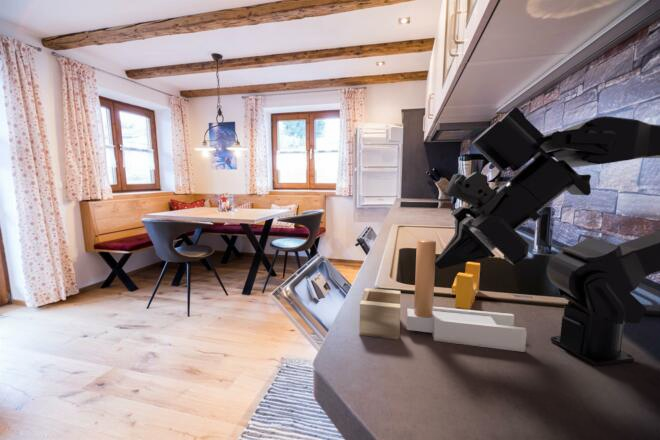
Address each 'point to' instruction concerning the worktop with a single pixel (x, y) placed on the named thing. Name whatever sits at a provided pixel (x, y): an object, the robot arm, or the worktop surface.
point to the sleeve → (480, 330)
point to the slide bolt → (431, 294)
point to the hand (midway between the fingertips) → (436, 266)
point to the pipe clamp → (466, 285)
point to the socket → (380, 313)
